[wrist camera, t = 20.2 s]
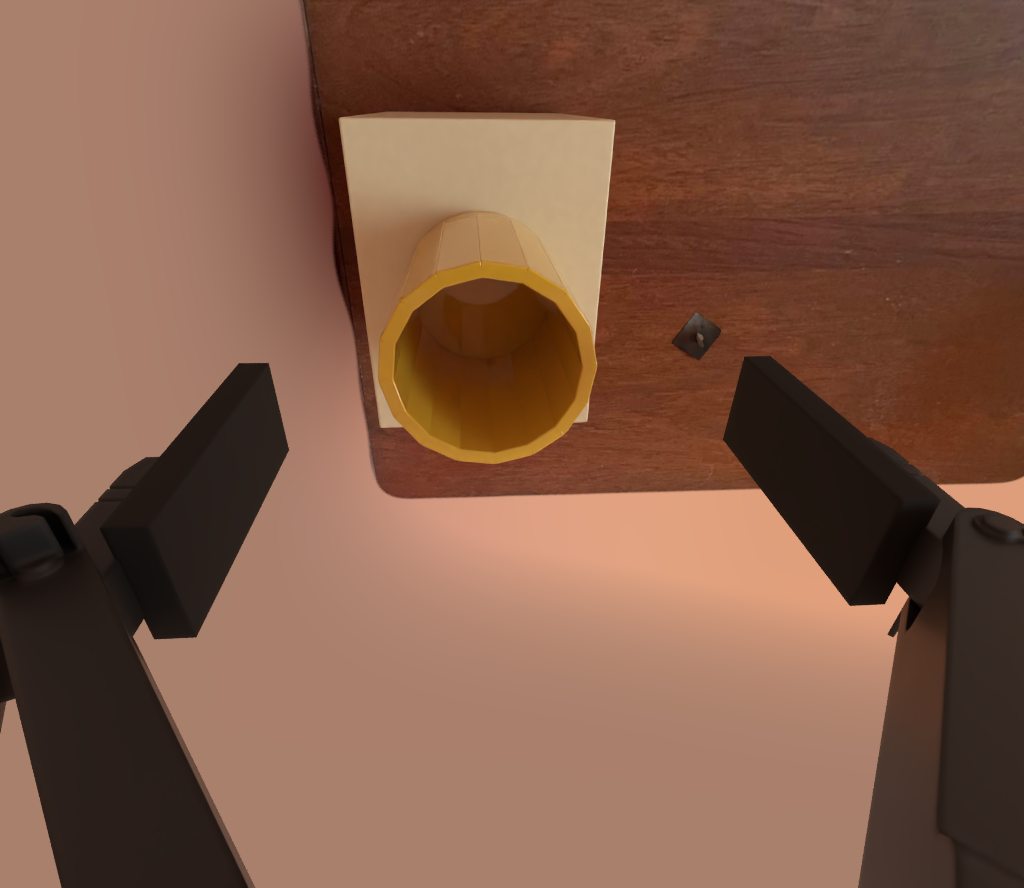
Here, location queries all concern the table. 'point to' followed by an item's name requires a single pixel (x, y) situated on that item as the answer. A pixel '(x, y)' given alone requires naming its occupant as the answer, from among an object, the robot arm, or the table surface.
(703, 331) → the dark square tile
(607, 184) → the shelf
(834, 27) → the table surface
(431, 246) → the cup
